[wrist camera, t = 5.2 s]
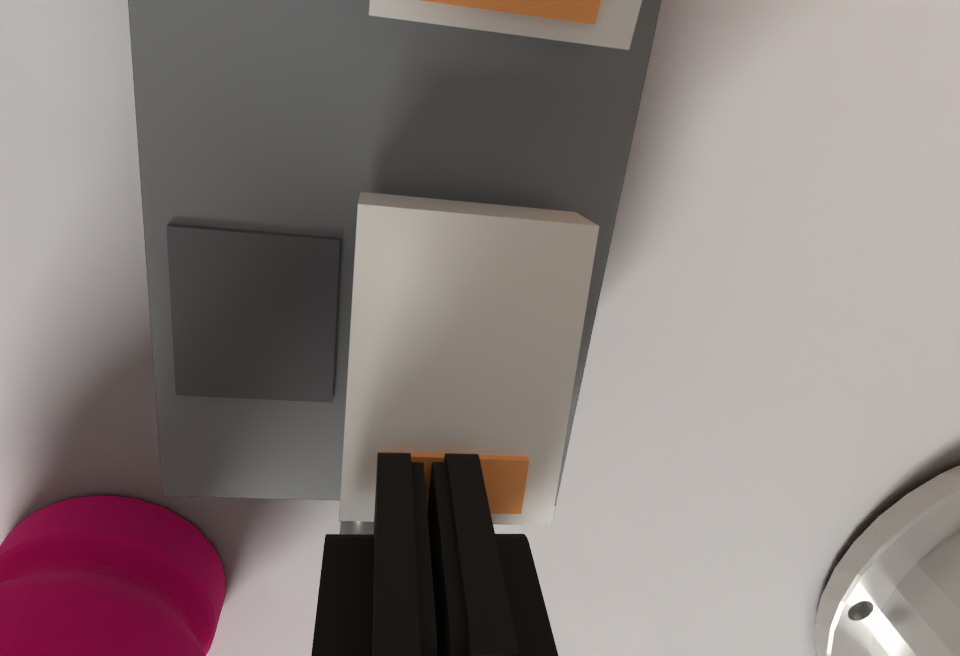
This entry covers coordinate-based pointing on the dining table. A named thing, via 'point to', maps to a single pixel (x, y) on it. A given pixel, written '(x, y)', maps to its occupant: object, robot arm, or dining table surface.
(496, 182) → the power strip
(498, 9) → the block
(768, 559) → the dining table surface
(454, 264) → the plate
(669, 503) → the dining table surface
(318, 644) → the robot arm
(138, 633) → the pepper mill
